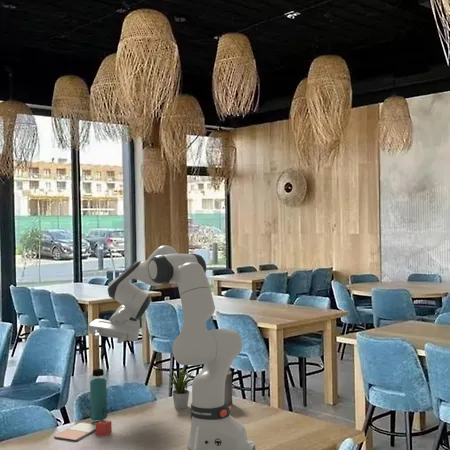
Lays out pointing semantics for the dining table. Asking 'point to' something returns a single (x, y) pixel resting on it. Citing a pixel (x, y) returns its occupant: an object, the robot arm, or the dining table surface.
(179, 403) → the house plant
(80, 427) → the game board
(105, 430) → the red die
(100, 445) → the dining table surface
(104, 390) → the beverage bottle
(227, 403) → the pillar candle
